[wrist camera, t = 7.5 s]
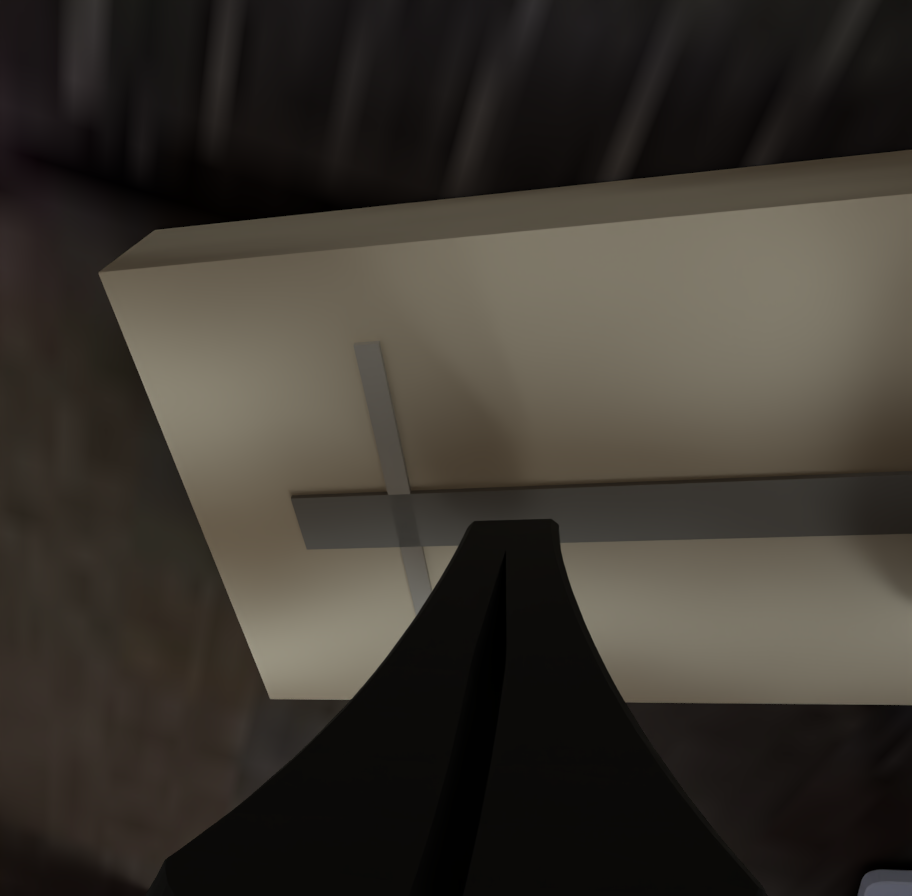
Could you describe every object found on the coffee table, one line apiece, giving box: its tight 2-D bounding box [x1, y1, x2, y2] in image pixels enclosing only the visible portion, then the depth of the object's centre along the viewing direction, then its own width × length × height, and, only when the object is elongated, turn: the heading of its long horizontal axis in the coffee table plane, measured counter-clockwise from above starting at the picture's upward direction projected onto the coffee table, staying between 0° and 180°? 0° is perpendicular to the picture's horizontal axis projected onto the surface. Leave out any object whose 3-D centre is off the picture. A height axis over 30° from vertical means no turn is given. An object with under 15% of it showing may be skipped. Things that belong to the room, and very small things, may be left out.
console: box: [98, 150, 912, 705], centre depth 14 cm, size 10×20×2 cm, turn 98°
